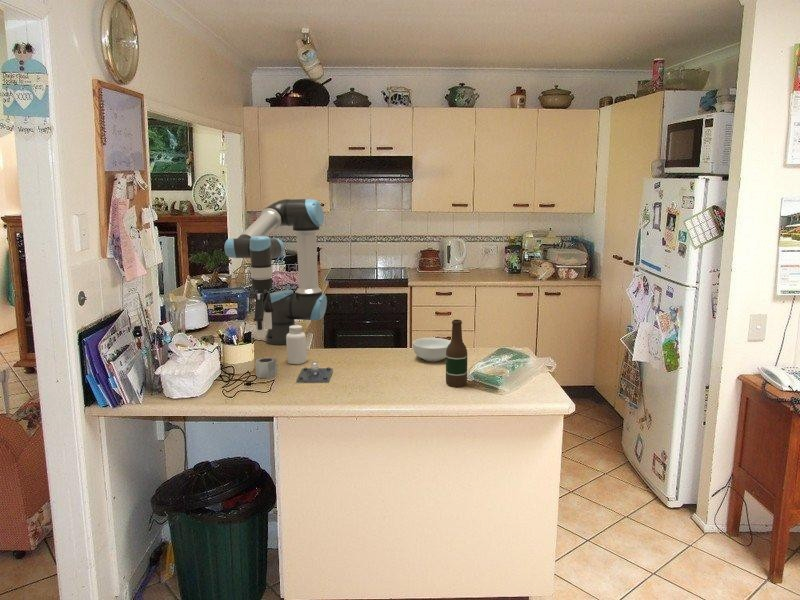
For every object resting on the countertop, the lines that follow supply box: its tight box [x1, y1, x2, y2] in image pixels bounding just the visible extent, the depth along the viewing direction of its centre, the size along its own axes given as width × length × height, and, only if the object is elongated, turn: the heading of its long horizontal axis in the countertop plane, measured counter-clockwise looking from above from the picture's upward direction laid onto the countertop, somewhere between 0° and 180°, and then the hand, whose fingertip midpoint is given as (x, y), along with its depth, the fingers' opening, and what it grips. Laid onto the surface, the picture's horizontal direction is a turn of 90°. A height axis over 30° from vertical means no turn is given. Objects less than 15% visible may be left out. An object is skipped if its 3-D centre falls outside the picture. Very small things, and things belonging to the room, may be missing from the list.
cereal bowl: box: [412, 337, 451, 362], centre depth 262 cm, size 17×17×7 cm
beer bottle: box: [445, 319, 468, 388], centre depth 229 cm, size 8×8×24 cm
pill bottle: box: [286, 324, 308, 365], centre depth 259 cm, size 8×8×15 cm
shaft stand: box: [296, 361, 334, 384], centre depth 241 cm, size 14×12×6 cm
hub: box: [254, 356, 278, 379], centre depth 243 cm, size 8×8×6 cm
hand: (264, 333), depth 240 cm, fingers open, 13 cm apart
